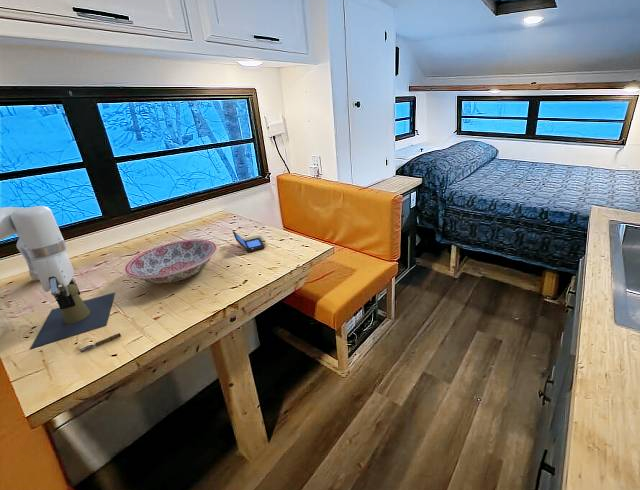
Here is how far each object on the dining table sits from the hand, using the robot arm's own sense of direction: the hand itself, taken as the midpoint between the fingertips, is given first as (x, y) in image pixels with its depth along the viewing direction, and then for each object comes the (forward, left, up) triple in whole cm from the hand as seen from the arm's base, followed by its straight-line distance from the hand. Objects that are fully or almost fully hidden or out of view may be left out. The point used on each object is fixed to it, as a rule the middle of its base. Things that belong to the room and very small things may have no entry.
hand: (71, 301), depth 93 cm
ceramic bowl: (+27, +11, -6) cm, 30 cm away
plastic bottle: (-16, +39, -6) cm, 43 cm away
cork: (0, 0, -6) cm, 6 cm away
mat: (0, 0, -6) cm, 6 cm away
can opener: (+8, -19, -6) cm, 21 cm away
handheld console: (+55, +19, -6) cm, 58 cm away
